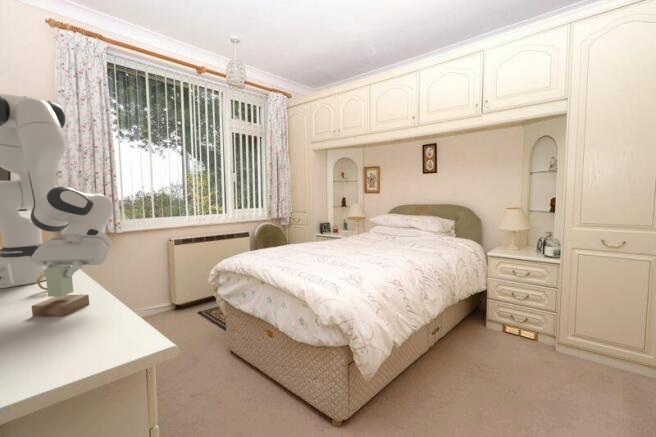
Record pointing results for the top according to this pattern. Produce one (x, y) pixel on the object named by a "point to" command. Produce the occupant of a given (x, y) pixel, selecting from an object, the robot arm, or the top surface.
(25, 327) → the top surface
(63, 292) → the block
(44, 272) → the ring
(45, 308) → the plinth
